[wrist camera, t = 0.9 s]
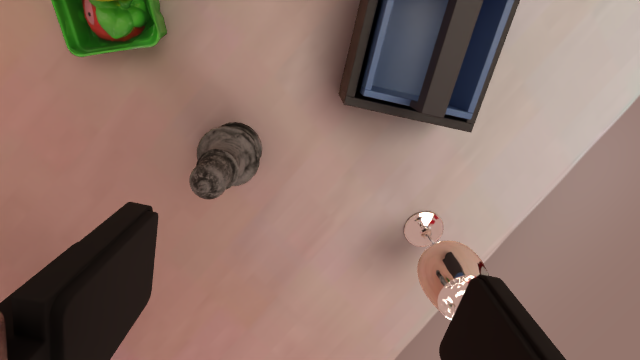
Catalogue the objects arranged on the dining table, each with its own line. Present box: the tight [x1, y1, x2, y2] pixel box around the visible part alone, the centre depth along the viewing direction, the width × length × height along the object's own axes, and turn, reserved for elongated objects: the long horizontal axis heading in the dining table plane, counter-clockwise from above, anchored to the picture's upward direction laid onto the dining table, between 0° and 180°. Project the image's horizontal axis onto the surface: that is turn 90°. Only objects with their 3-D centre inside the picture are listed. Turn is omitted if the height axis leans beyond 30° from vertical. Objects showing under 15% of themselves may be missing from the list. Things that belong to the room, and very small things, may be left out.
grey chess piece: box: [189, 122, 262, 199], centre depth 31 cm, size 6×6×12 cm
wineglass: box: [404, 211, 489, 320], centre depth 34 cm, size 6×6×12 cm
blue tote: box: [357, 0, 514, 120], centre depth 27 cm, size 11×9×12 cm
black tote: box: [339, 0, 520, 132], centre depth 30 cm, size 13×11×7 cm
